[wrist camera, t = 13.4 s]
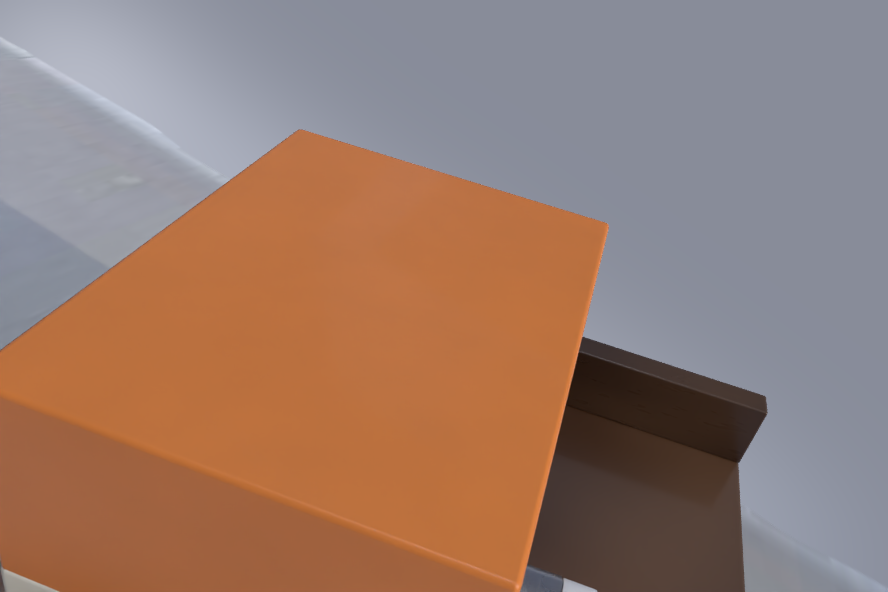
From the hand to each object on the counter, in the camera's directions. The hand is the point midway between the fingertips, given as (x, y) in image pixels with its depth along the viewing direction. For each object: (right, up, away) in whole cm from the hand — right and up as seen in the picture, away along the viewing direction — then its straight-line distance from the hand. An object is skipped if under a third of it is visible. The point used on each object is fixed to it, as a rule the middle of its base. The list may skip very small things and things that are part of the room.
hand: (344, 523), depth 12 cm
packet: (-1, -5, +3) cm, 6 cm away
